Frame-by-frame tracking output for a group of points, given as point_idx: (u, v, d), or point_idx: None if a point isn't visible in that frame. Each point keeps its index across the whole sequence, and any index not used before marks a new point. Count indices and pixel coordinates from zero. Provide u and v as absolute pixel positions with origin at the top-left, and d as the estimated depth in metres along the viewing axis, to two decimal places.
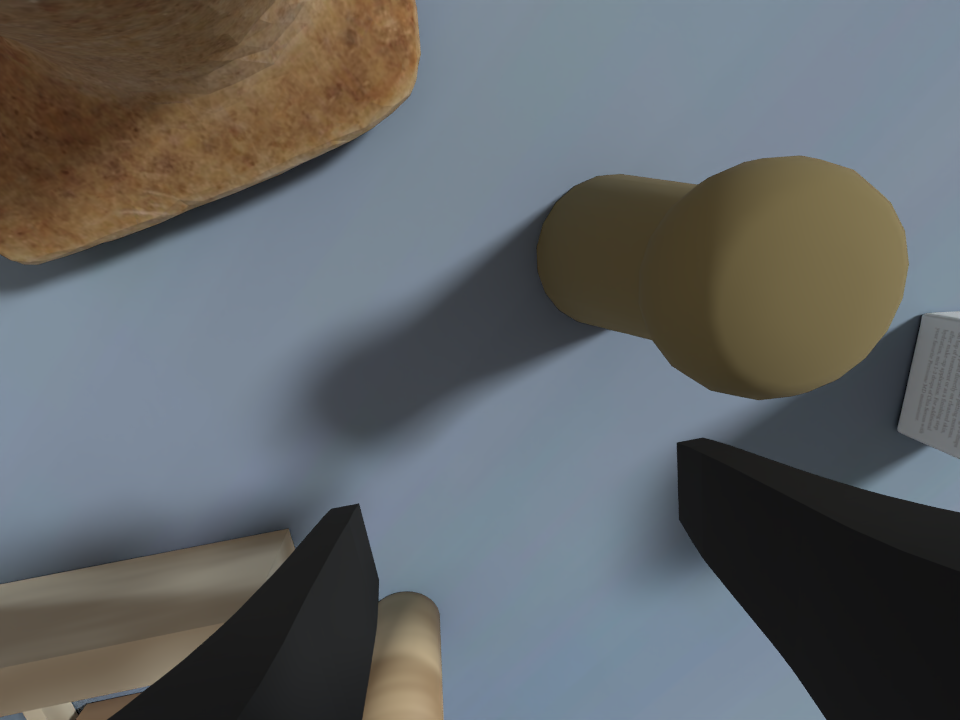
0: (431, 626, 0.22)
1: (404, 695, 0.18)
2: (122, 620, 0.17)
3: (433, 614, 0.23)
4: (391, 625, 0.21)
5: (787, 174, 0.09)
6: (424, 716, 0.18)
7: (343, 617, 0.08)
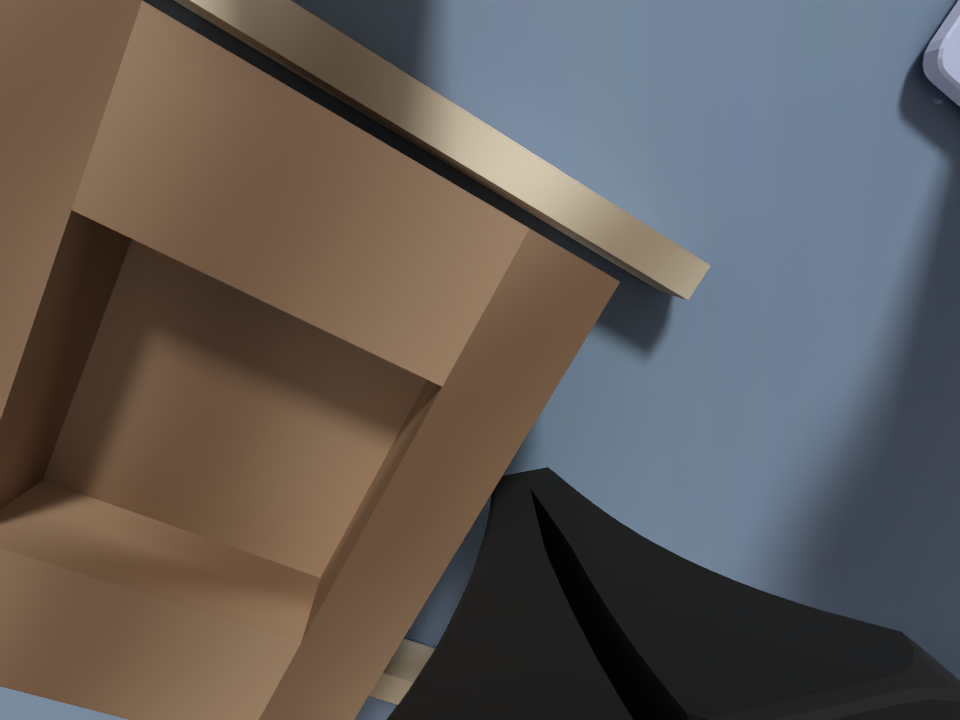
0: None
1: None
2: None
3: None
4: None
5: None
6: None
7: None
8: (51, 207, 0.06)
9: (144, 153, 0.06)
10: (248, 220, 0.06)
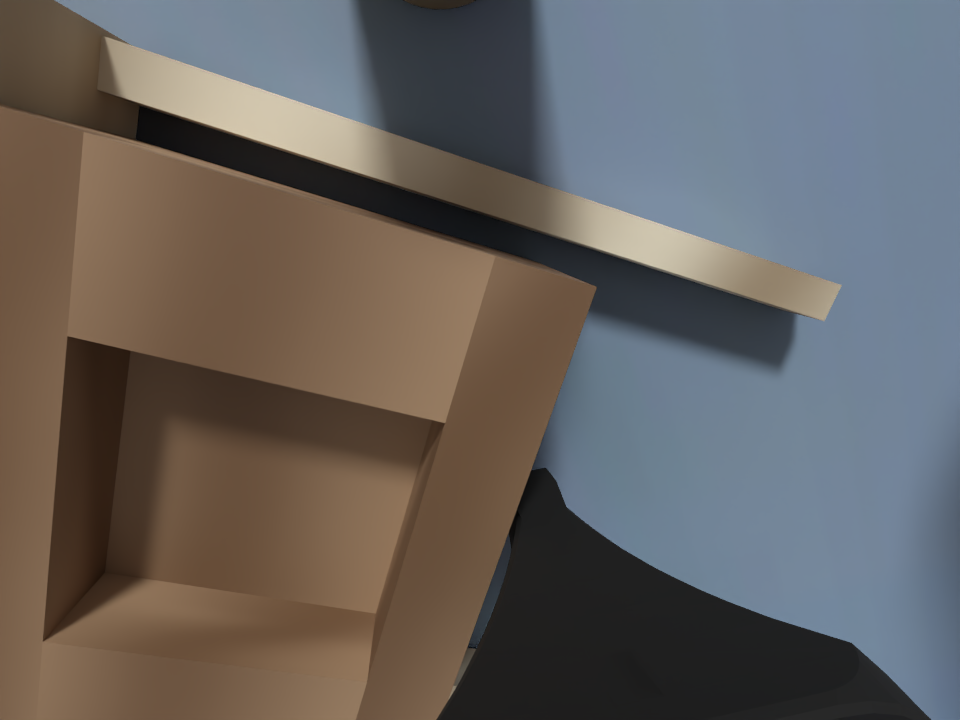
0: None
1: None
2: None
3: None
4: None
5: None
6: None
7: None
8: (49, 337, 0.06)
9: (118, 269, 0.06)
10: (227, 309, 0.06)
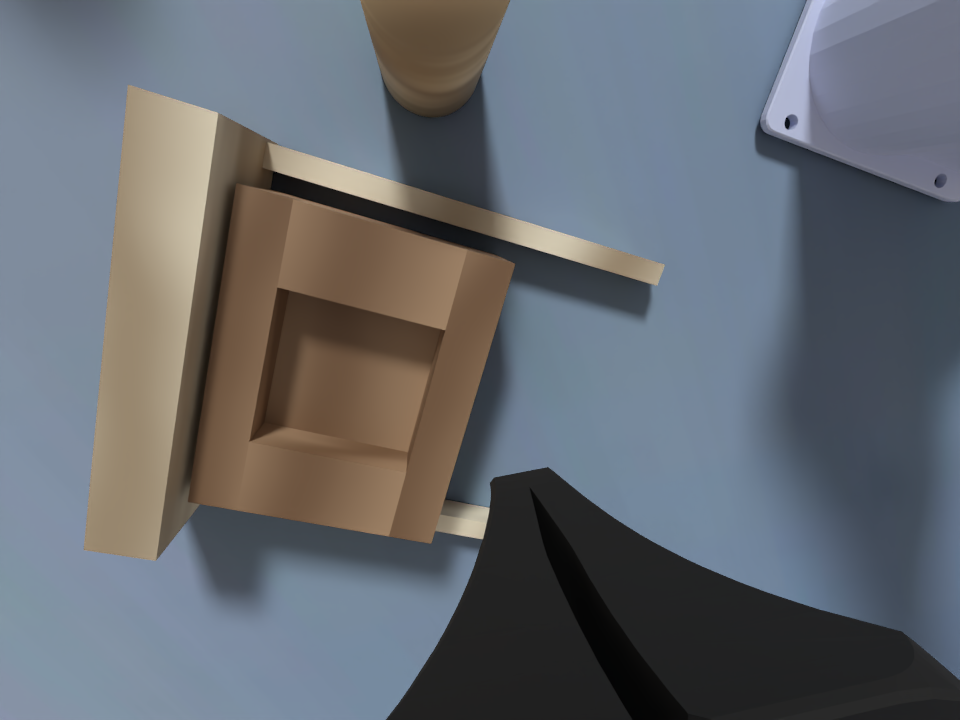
0: None
1: None
2: None
3: None
4: None
5: None
6: None
7: None
8: (269, 288, 0.14)
9: (301, 257, 0.14)
10: (347, 275, 0.14)
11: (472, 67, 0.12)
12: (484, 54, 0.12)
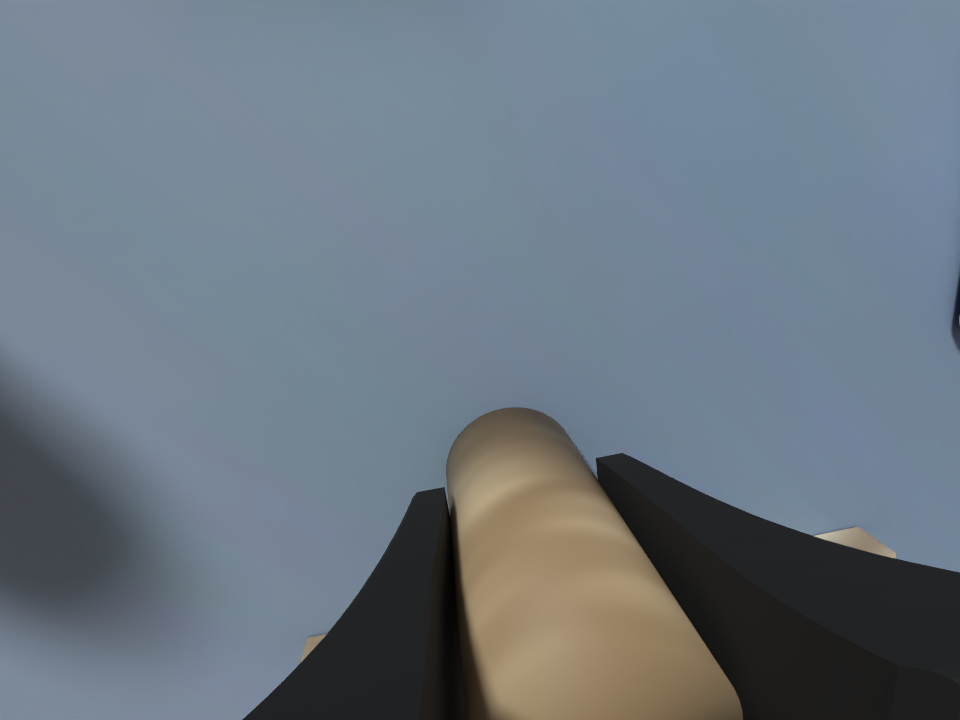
0: (475, 454, 0.10)
1: (461, 632, 0.07)
2: None
3: (478, 432, 0.11)
4: None
5: None
6: (488, 623, 0.06)
7: (449, 596, 0.08)
8: None
9: None
10: None
11: None
12: None
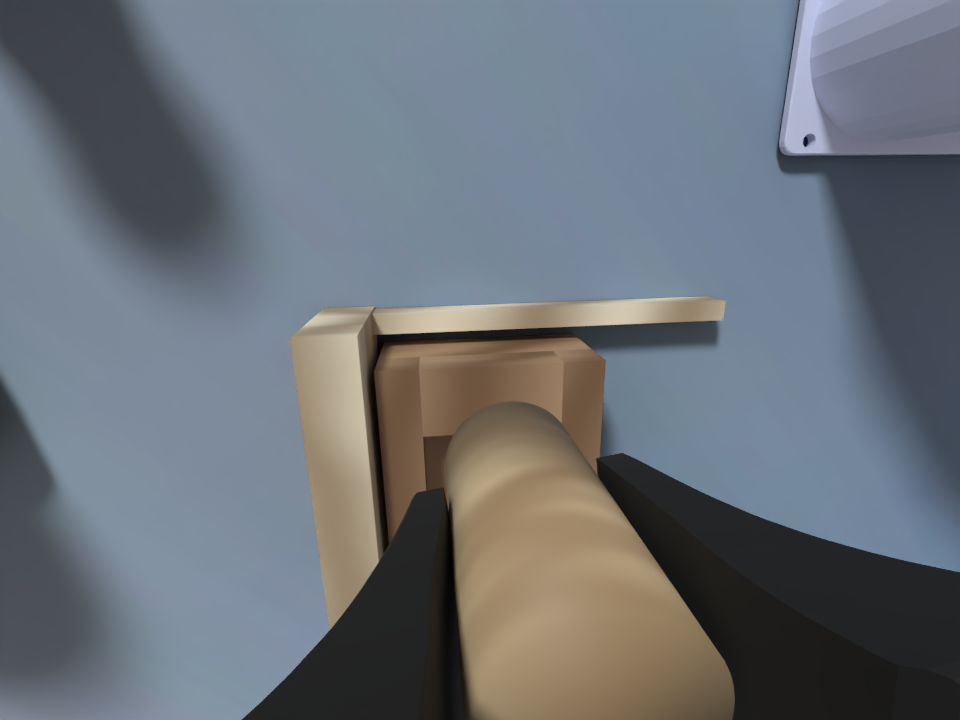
0: (473, 445, 0.11)
1: (458, 613, 0.07)
2: None
3: (477, 425, 0.11)
4: None
5: None
6: (484, 600, 0.07)
7: (449, 596, 0.08)
8: (417, 439, 0.17)
9: (436, 409, 0.17)
10: (473, 411, 0.17)
11: None
12: None
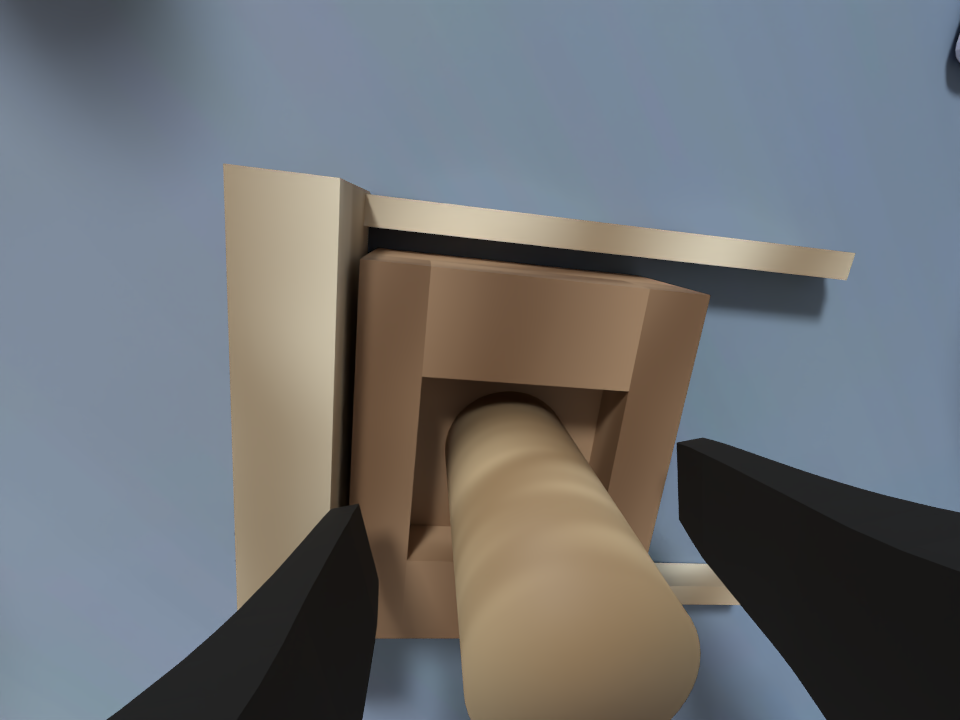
0: (471, 432, 0.11)
1: (457, 582, 0.08)
2: None
3: (475, 414, 0.12)
4: None
5: None
6: (480, 568, 0.07)
7: (343, 618, 0.08)
8: (412, 379, 0.11)
9: (448, 335, 0.11)
10: (505, 346, 0.11)
11: None
12: None
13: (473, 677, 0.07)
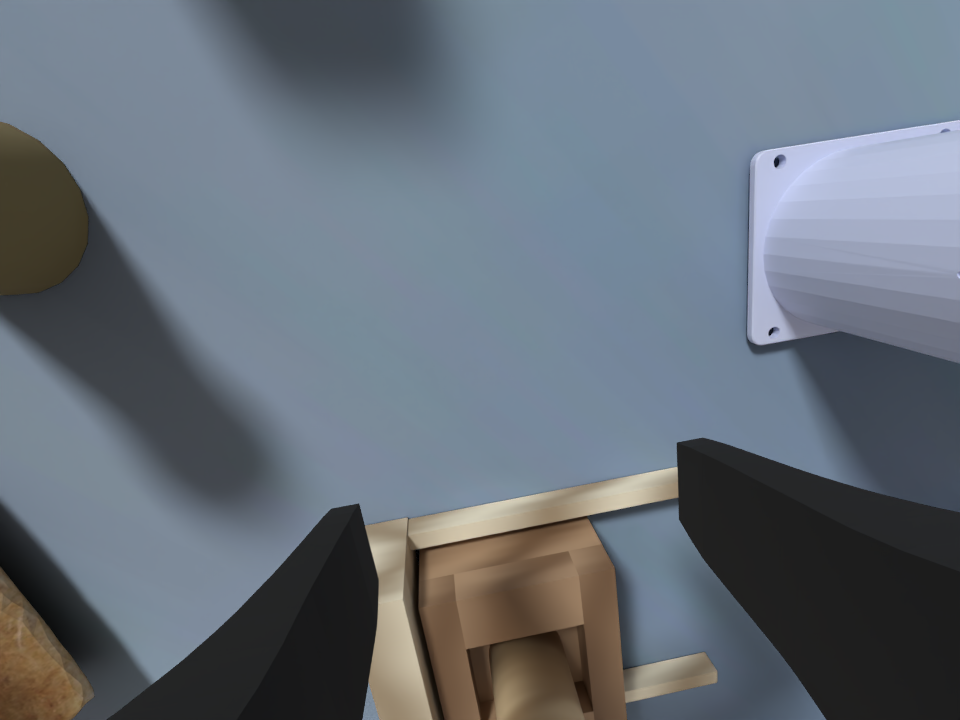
0: (500, 668, 0.20)
1: None
2: None
3: (500, 648, 0.21)
4: None
5: None
6: None
7: (342, 617, 0.08)
8: (461, 651, 0.20)
9: (474, 627, 0.19)
10: (506, 623, 0.20)
11: None
12: None
13: None
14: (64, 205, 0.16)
